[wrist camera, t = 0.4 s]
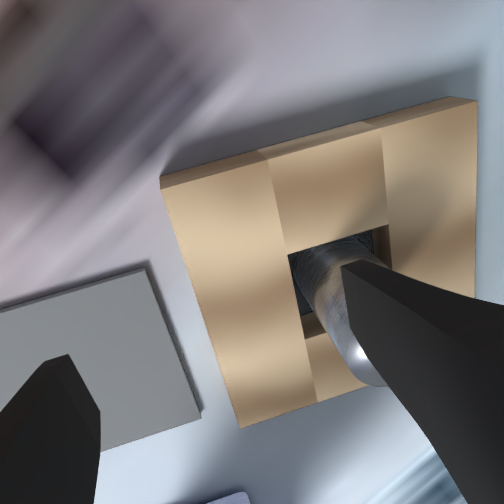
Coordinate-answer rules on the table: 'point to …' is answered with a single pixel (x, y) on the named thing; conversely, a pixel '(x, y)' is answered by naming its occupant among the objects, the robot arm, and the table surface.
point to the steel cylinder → (336, 298)
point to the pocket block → (321, 239)
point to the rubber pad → (103, 354)
